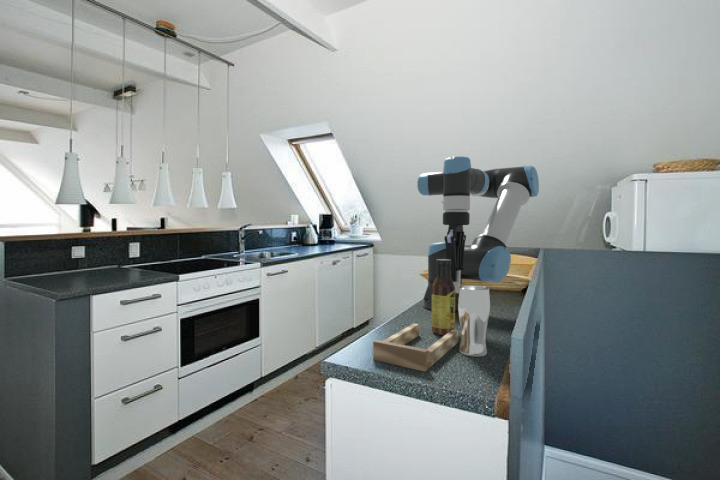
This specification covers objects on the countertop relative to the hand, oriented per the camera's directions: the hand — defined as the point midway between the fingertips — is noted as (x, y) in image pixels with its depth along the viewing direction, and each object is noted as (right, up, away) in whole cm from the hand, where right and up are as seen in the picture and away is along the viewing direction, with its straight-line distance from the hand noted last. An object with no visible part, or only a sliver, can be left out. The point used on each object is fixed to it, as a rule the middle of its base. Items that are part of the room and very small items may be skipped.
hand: (454, 292), depth 109 cm
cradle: (-14, -10, -22) cm, 28 cm away
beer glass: (-2, -11, -23) cm, 25 cm away
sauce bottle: (-5, -10, -8) cm, 14 cm away
